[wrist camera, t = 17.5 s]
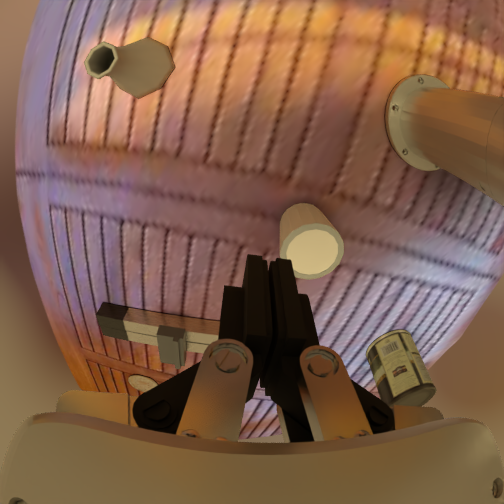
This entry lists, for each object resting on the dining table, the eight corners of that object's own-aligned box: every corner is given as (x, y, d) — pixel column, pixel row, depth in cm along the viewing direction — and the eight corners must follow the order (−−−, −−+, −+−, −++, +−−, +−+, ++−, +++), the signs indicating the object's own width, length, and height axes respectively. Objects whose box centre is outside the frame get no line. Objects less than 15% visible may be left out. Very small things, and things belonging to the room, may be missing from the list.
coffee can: (384, 365, 52) (402, 418, 40) (355, 355, 49) (373, 416, 37) (419, 336, 47) (444, 390, 35) (394, 322, 44) (421, 384, 32)
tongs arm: (242, 323, 43) (242, 338, 40) (241, 333, 44) (240, 348, 42) (102, 302, 41) (96, 314, 38) (105, 312, 42) (99, 325, 40)
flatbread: (155, 393, 58) (154, 397, 57) (126, 382, 56) (125, 386, 55) (163, 381, 54) (162, 384, 53) (132, 368, 52) (131, 372, 51)
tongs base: (271, 329, 44) (272, 343, 41) (266, 346, 46) (267, 360, 44) (104, 304, 42) (97, 317, 39) (109, 322, 44) (103, 335, 41)
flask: (138, 109, 26) (93, 118, 18) (105, 69, 23) (54, 67, 14) (186, 68, 24) (157, 56, 15) (151, 27, 21) (111, 6, 12)
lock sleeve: (185, 328, 39) (182, 342, 37) (186, 356, 43) (183, 369, 40) (159, 324, 38) (155, 338, 36) (163, 352, 42) (159, 365, 40)
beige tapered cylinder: (334, 237, 35) (349, 268, 29) (285, 254, 36) (291, 287, 30) (320, 190, 32) (336, 214, 26) (266, 209, 33) (270, 237, 27)
